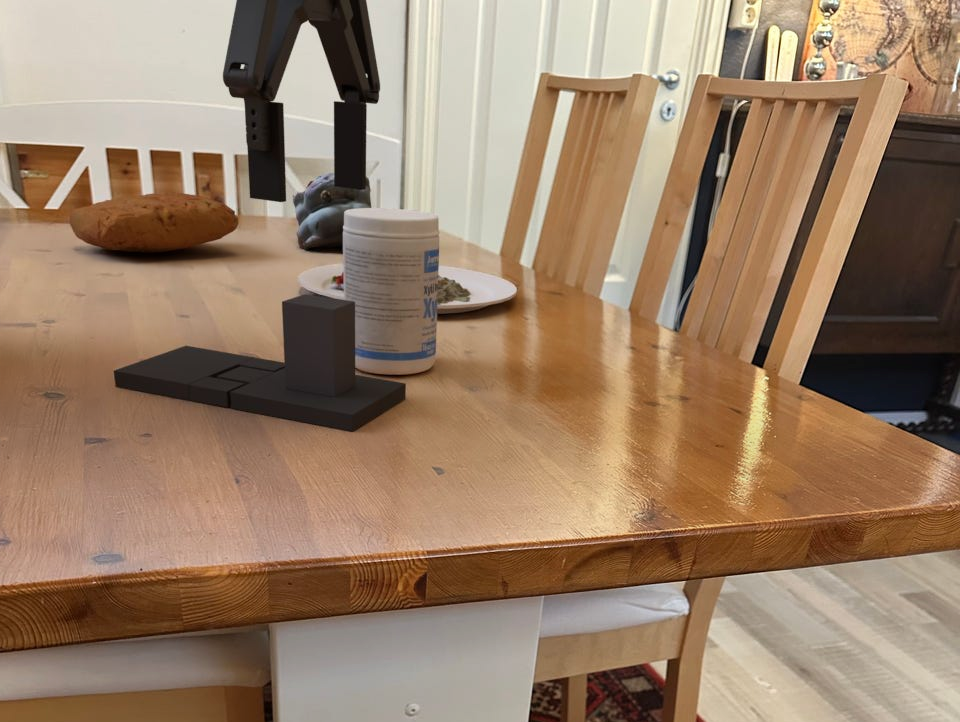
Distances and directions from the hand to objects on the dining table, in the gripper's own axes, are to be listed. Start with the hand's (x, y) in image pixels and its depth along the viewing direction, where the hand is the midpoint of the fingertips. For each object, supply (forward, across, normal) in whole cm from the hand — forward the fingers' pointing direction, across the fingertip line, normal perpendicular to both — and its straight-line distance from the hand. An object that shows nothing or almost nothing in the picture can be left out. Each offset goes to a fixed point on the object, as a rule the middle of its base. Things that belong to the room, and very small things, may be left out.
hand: (312, 194), depth 76 cm
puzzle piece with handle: (+17, 0, +1) cm, 17 cm away
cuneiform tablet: (+18, +55, +58) cm, 81 cm away
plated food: (+18, +50, +13) cm, 54 cm away
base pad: (+18, 0, +12) cm, 21 cm away
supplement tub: (+18, +16, 0) cm, 24 cm away
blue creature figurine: (+18, +79, +40) cm, 90 cm away
